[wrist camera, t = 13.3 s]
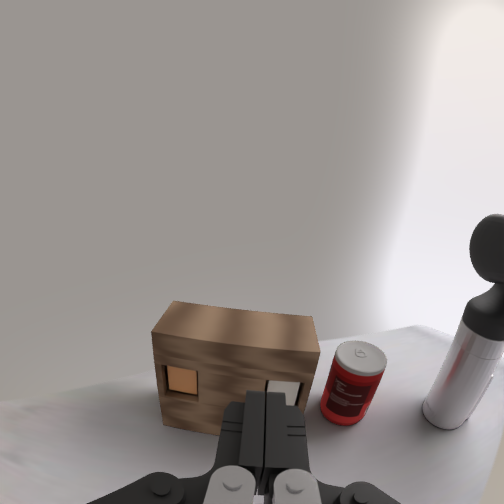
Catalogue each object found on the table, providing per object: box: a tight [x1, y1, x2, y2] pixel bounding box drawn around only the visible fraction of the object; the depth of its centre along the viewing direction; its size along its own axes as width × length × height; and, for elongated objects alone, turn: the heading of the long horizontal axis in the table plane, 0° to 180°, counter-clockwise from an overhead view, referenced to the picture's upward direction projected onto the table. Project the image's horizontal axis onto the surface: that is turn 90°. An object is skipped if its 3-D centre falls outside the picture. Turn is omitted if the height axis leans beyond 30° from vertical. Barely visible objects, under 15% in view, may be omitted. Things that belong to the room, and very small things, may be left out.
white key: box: [265, 380, 300, 406], centre depth 34 cm, size 4×5×4 cm
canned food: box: [320, 341, 387, 426], centre depth 38 cm, size 8×8×11 cm
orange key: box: [167, 366, 198, 394], centre depth 34 cm, size 4×5×4 cm
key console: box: [151, 301, 320, 436], centre depth 35 cm, size 18×8×16 cm, turn 86°
